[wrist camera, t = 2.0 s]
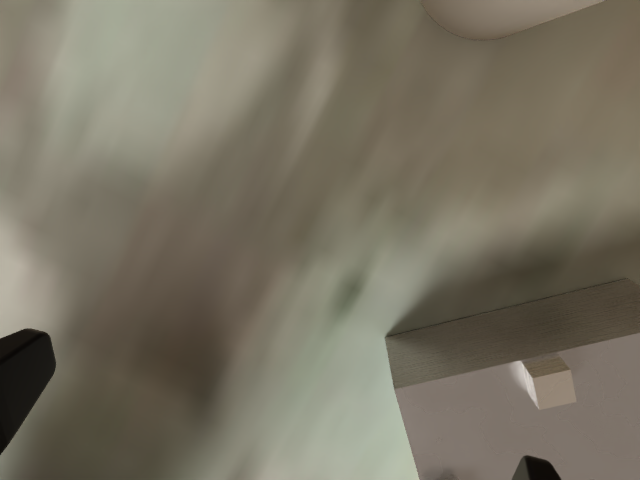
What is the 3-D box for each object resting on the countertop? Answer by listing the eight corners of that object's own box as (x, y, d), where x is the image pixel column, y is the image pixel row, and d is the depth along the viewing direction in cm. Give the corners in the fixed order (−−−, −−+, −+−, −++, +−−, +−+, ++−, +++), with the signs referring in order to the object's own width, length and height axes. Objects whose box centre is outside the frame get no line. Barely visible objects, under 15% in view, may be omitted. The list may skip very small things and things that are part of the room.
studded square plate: (437, 524, 24) (461, 631, 19) (384, 337, 22) (397, 406, 17) (726, 466, 23) (830, 566, 18) (705, 259, 20) (819, 310, 15)
